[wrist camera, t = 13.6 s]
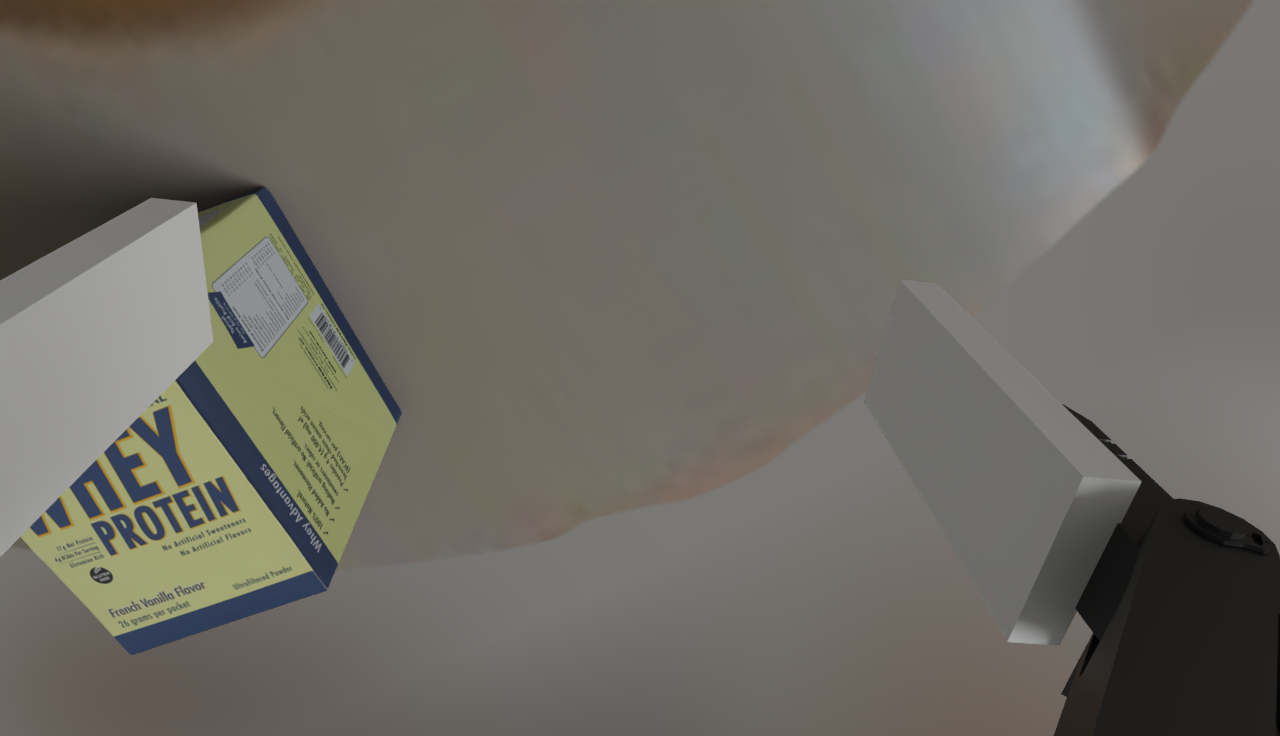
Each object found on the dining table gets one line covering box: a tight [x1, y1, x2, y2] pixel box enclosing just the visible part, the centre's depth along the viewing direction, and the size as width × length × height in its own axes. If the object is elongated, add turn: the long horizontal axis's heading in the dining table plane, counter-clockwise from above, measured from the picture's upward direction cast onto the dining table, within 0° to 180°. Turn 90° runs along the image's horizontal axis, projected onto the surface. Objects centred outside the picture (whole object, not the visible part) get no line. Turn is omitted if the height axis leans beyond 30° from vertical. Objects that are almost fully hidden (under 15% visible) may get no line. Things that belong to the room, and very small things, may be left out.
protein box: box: [20, 187, 402, 655], centre depth 39 cm, size 10×16×16 cm
